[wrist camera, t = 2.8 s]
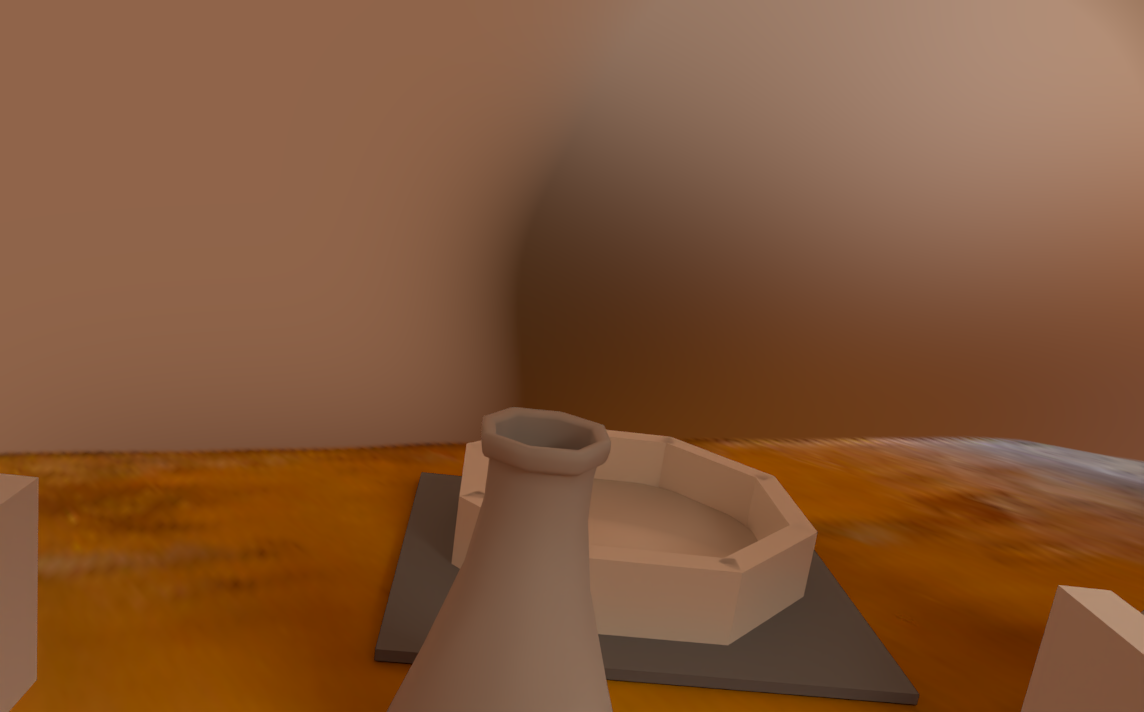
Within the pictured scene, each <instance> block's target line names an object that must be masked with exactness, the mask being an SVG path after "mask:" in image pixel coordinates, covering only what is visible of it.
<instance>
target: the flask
mask: <svg viewBox="0 0 1144 712" xmlns="http://www.w3.org/2000/svg"><path fill="white" fill-rule="evenodd" d="M481 444H482V453H483V454H484V456H485V457H488V458H489V465H488V472H487V479H486V487H485V494H484V499H483V502H482V505H481V508H480V512H479V515H478V518H477V521H476V525H475V528H474V531H473V534H472V538H471V541H470V544H469V547H468V551H467V554H466V557H465V560H464V562H463V564H462V566H461V568H460V570H459V572H458V574H457V576H456V578H455V580H454V582H453V584H452V587H451V589H450V591H449V593H448V595H447V597H446V599H445V601H444V603H443V605H442V607H441V609H440V611H439V613H438V615H437V617H436V619H435V621H434V623H433V625H432V627H431V629H430V631H429V633H428V636H427V638H426V640H425V642H424V644H423V645H422V647H421V649H420V651H419V653H418V655H417V656H416V658H415V660H414V662H413V664H412V666H411V668H410V669H409V671H408V673H407V675H406V677H405V679H404V680H403V682H402V684H401V686H400V688H399V690H398V692H397V693H396V695H395V697H394V699H393V701H392V703H391V704H390V706H389V708H388V710H387V712H613V710H612V706H611V701H610V697H609V692H608V687H607V681H606V676H605V670H604V664H603V659H602V653H601V648H600V642H599V636H598V631H597V625H596V619H595V614H594V608H593V603H592V597H591V591H590V569H589V536H588V516H589V508H590V501H591V493H592V486H593V479H594V475H595V471H596V468H597V467H598V466H600V465H602V464H604V463H605V462H606V460H607V458H608V456H609V453H610V449H611V441H610V438H609V436H608V433H607V431H606V429H605V426H604V425H602V424H599V423H596V422H593V421H589V420H586V419H583V418H579V417H577V416H573V415H570V414H567V413H564V412H559V411H549V410H539V409H528V408H519V407H511V408H508V409H504V410H501V411H498V412H495V413H492V414H489V415H486V416H483V419H482V425H481Z"/></svg>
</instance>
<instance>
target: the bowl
mask: <svg viewBox="0 0 1144 712" xmlns="http://www.w3.org/2000/svg"><path fill="white" fill-rule="evenodd" d="M606 431H607V433H608V436H609V438H610V441H611V449H610V453H609V456H608V458H607V460H606V462H605V463H604V464H602V465H600V466H598V467H597V468H596V471H595V475H594V479H593V486H592V493H591V501H590V508H589V516H588V536H589V569H590V591H591V597H592V603H593V608H594V614H595V619H596V625H597V631H598V634H603V635H615V636H626V637H638V638H649V639H661V640H672V641H684V642H695V643H707V644H718V645H729V644H731V643H733V642H734V641H736V640H737V639H739V638H740V637H742V636H743V635H745V634H746V633H748V632H750V631H751V630H753V629H754V628H756V627H757V626H759V625H760V624H762V623H763V622H765V621H767V620H768V619H770V618H771V617H773V616H774V615H776V614H777V613H779V612H780V611H782V610H784V609H785V608H787V607H788V606H790V605H791V604H793V603H794V602H796V601H797V600H799V599H800V598H802V597H804V592H805V588H806V583H807V578H808V574H809V569H810V565H811V560H812V556H813V551H814V547H815V542H816V537H817V533H818V532H817V531H816V529H815V528H814V527H813V526H812V524H811V523H810V522H809V520H808V519H807V518H806V516H805V515H804V514H803V513H802V511H801V510H800V509H799V507H798V506H797V505H796V503H795V502H794V501H793V500H792V498H791V497H790V496H789V494H788V493H787V492H786V490H785V489H784V488H783V487H782V485H781V484H780V483H779V481H778V480H777V479H776V477H775V476H772V475H770V474H767V473H764V472H762V471H759V470H757V469H754V468H751V467H749V466H746V465H743V464H741V463H738V462H736V461H733V460H730V459H728V458H725V457H722V456H720V455H717V454H715V453H712V452H709V451H707V450H704V449H702V448H699V447H696V446H694V445H691V444H688V443H686V442H683V441H681V440H678V439H675V438H673V437H668V436H659V435H649V434H640V433H631V432H622V431H613V430H606ZM488 465H489V458H488V457H485V456H484V454H483V453H482V444H481V441H476V442H472V443H467V445H466V452H465V459H464V467H463V474H462V481H461V488H460V495H459V502H458V511H457V520H456V528H455V537H454V546H453V554H452V563H451V564H453V565H454V566H456V567H458V568H459V569H460V568H461V566H462V564H463V562H464V560H465V557H466V554H467V551H468V547H469V544H470V541H471V538H472V534H473V531H474V528H475V525H476V521H477V518H478V515H479V512H480V508H481V505H482V502H483V499H484V494H485V487H486V479H487V472H488Z"/></svg>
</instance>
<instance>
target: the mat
mask: <svg viewBox="0 0 1144 712" xmlns="http://www.w3.org/2000/svg"><path fill="white" fill-rule="evenodd" d="M461 481H462V476H454V475H444V474H434V473H424V472H422V473H421V477H420V480H419V484H418V488H417V492H416V496H415V499H414V503H413V507H412V511H411V515H410V519H409V522H408V526H407V530H406V534H405V538H404V541H403V545H402V549H401V553H400V557H399V561H398V564H397V568H396V572H395V576H394V580H393V583H392V587H391V591H390V595H389V599H388V602H387V606H386V610H385V614H384V618H383V622H382V625H381V629H380V633H379V637H378V641H377V644H376V648H375V658H374V660H378V661H390V662H402V663H413V662H414V660H415V658H416V656H417V655H418V653H419V651H420V649H421V647H422V645H423V644H424V642H425V640H426V638H427V636H428V633H429V631H430V629H431V627H432V625H433V623H434V621H435V619H436V617H437V615H438V613H439V611H440V609H441V607H442V605H443V603H444V601H445V599H446V597H447V595H448V593H449V591H450V589H451V587H452V584H453V582H454V580H455V578H456V576H457V574H458V572H459V570H460V569H459V568H458V567H456V566H454V565H453V564H451V563H452V554H453V546H454V537H455V528H456V520H457V511H458V502H459V495H460V488H461ZM598 636H599V642H600V648H601V653H602V659H603V664H604V670H605V676H606V679H610V680H622V681H634V682H646V683H658V684H671V685H683V686H695V687H707V688H719V689H732V690H744V691H756V692H768V693H780V694H793V695H805V696H817V697H829V698H842V699H854V700H866V701H878V702H890V703H903V704H915V705H917V701H918V698H919V693H918V692H917V690H916V689H915V688H914V686H913V685H912V683H911V682H910V681H909V679H908V678H907V677H906V675H905V674H904V672H903V671H902V670H901V668H900V667H899V666H898V664H897V663H896V661H895V660H894V659H893V657H892V656H891V655H890V653H889V652H888V650H887V649H886V648H885V646H884V645H883V644H882V642H881V641H880V639H879V638H878V637H877V635H876V634H875V633H874V631H873V630H872V628H871V627H870V626H869V624H868V623H867V622H866V620H865V619H864V617H863V616H862V615H861V613H860V612H859V611H858V609H857V608H856V606H855V605H854V604H853V602H852V601H851V600H850V598H849V597H848V595H847V594H846V593H845V591H844V590H843V589H842V587H841V586H840V585H839V583H838V582H837V580H836V579H835V578H834V576H833V575H832V574H831V572H830V571H829V569H828V568H827V567H826V565H825V564H824V563H823V561H822V560H821V558H820V557H819V556H818V554H817V553H816V552H815V550H814V551H813V556H812V560H811V565H810V569H809V574H808V578H807V583H806V588H805V592H804V597H802V598H800V599H799V600H797V601H796V602H794V603H793V604H791V605H790V606H788V607H787V608H785V609H784V610H782V611H780V612H779V613H777V614H776V615H774V616H773V617H771V618H770V619H768V620H767V621H765V622H763V623H762V624H760V625H759V626H757V627H756V628H754V629H753V630H751V631H750V632H748V633H746V634H745V635H743V636H742V637H740V638H739V639H737V640H736V641H734V642H733V643H731V644H729V645H718V644H707V643H695V642H684V641H672V640H661V639H649V638H638V637H626V636H615V635H603V634H598Z"/></svg>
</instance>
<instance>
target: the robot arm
mask: <svg viewBox="0 0 1144 712" xmlns="http://www.w3.org/2000/svg"><path fill="white" fill-rule="evenodd" d="M37 582H38V477H29V476H19V475H10V474H0V712H9V711H10V710H11V709H12V708H13V706H14V705H15V704H16V703H17V702H18V701H19V700H20V698H21V697H22V696H23V695H24V694H25V693H26V692H27V690H28V689H29V688H30V687H31V686H32V685H33V684H34V682H35V681H36V680H37ZM1021 712H1144V615H1143V614H1141V613H1140V612H1139V611H1137V610H1136V609H1135V608H1133V607H1132V606H1131V605H1129V604H1128V603H1127V602H1125V601H1124V600H1123V599H1121V598H1120V597H1119V596H1117V595H1116V594H1115V593H1113V592H1112V591H1110V590H1101V589H1091V588H1082V587H1072V586H1063V585H1058V588H1057V591H1056V594H1055V598H1054V601H1053V604H1052V608H1051V611H1050V615H1049V618H1048V621H1047V625H1046V628H1045V632H1044V635H1043V638H1042V642H1041V645H1040V648H1039V652H1038V655H1037V659H1036V662H1035V665H1034V669H1033V672H1032V676H1031V679H1030V682H1029V686H1028V689H1027V692H1026V696H1025V699H1024V703H1023V706H1022V709H1021Z"/></svg>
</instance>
